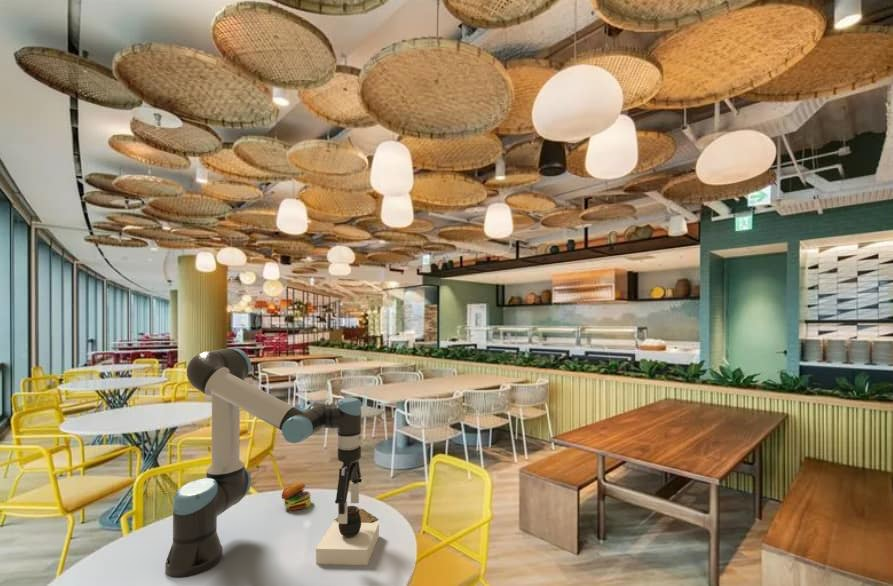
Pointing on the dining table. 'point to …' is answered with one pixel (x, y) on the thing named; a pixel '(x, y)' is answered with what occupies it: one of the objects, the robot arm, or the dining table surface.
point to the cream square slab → (347, 545)
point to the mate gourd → (351, 522)
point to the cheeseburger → (296, 496)
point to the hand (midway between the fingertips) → (349, 512)
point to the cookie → (365, 517)
